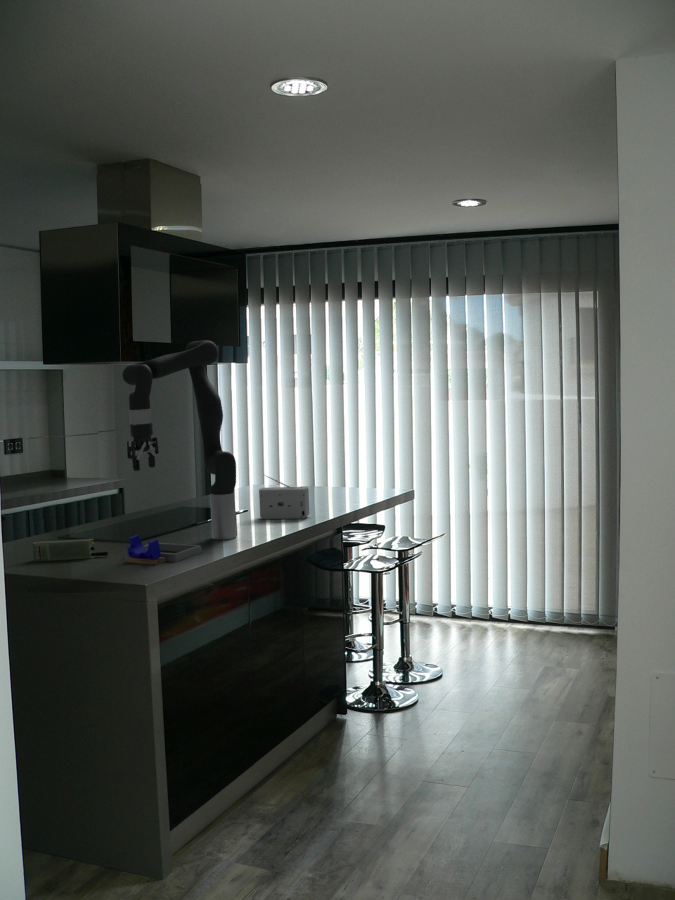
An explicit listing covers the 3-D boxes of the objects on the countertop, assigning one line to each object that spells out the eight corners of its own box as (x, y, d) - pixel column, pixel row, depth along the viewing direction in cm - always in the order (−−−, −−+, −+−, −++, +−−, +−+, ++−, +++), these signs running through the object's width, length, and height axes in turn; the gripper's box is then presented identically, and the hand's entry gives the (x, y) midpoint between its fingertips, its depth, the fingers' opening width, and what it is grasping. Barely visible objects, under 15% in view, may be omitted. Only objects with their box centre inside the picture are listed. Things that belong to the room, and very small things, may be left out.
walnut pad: (134, 559, 293) (134, 554, 292) (165, 561, 287) (165, 557, 287) (125, 562, 288) (124, 557, 288) (156, 564, 282) (155, 560, 282)
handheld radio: (35, 560, 297) (108, 556, 300) (33, 562, 294) (107, 558, 297) (34, 541, 296) (107, 537, 299) (31, 543, 293) (106, 539, 296)
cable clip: (128, 555, 290) (125, 539, 288) (139, 551, 293) (136, 534, 291) (150, 561, 282) (147, 544, 280) (161, 556, 285) (158, 540, 284)
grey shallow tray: (155, 549, 308) (154, 542, 308) (201, 552, 300) (201, 545, 299) (127, 557, 295) (127, 550, 295) (175, 561, 286) (175, 554, 286)
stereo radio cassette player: (309, 516, 370) (308, 470, 368) (307, 519, 361) (305, 472, 360) (262, 517, 372) (260, 471, 370) (258, 520, 364) (256, 473, 362)
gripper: (144, 420, 302) (148, 466, 304) (119, 424, 290) (122, 471, 291) (162, 420, 299) (165, 466, 301) (136, 424, 286) (140, 471, 288)
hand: (144, 468), depth 296 cm, fingers open, 8 cm apart
